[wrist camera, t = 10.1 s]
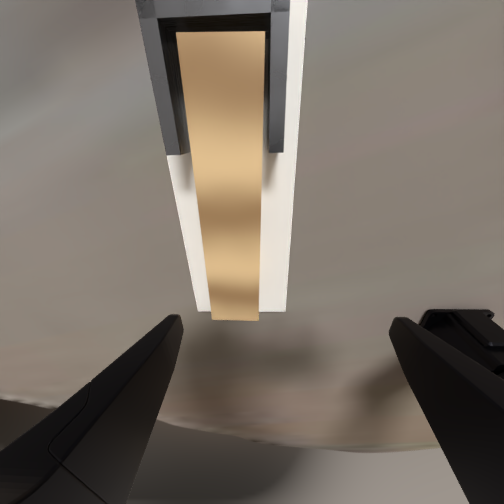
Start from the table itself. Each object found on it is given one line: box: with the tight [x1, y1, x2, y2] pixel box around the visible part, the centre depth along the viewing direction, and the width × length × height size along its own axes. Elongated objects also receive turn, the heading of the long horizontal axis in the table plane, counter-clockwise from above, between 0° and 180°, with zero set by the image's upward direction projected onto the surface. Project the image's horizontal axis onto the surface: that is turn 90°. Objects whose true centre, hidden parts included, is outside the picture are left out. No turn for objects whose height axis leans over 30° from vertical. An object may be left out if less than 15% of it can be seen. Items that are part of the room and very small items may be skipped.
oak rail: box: [176, 31, 265, 321], centre depth 15 cm, size 18×4×3 cm, turn 0°
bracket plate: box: [135, 0, 308, 312], centre depth 16 cm, size 22×9×4 cm, turn 1°
